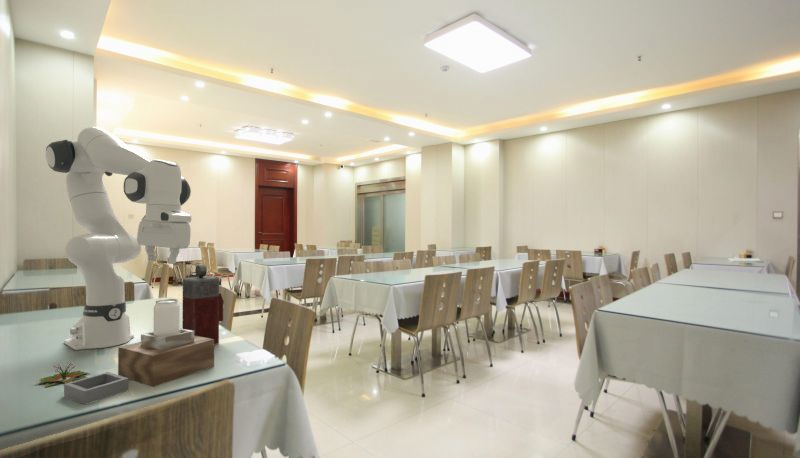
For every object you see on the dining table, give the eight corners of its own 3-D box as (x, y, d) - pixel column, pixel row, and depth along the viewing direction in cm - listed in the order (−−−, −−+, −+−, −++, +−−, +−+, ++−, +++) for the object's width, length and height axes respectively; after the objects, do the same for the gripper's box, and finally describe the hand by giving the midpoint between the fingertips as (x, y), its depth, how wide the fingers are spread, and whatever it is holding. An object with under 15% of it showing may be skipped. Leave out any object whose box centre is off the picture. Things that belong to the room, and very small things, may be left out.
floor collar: (63, 396, 99) (63, 384, 99) (107, 383, 107) (107, 371, 107) (84, 404, 94) (84, 391, 94) (128, 390, 102) (128, 378, 102)
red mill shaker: (225, 341, 147) (225, 264, 147) (193, 348, 138) (194, 266, 139) (213, 337, 153) (213, 263, 153) (181, 344, 144) (182, 264, 144)
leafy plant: (85, 370, 119) (85, 354, 119) (97, 379, 111) (97, 363, 111) (30, 381, 109) (30, 364, 109) (38, 393, 102) (38, 374, 102)
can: (167, 346, 113) (167, 303, 113) (148, 345, 114) (148, 302, 114) (184, 340, 119) (184, 299, 119) (166, 338, 121) (166, 298, 120)
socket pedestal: (118, 376, 112) (118, 336, 112) (180, 358, 128) (180, 323, 128) (152, 386, 105) (153, 343, 105) (214, 366, 121) (214, 329, 121)
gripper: (131, 214, 122) (130, 260, 122) (174, 215, 112) (172, 265, 112) (152, 215, 127) (151, 259, 127) (195, 216, 118) (193, 264, 118)
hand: (161, 262), depth 120 cm, fingers open, 8 cm apart
